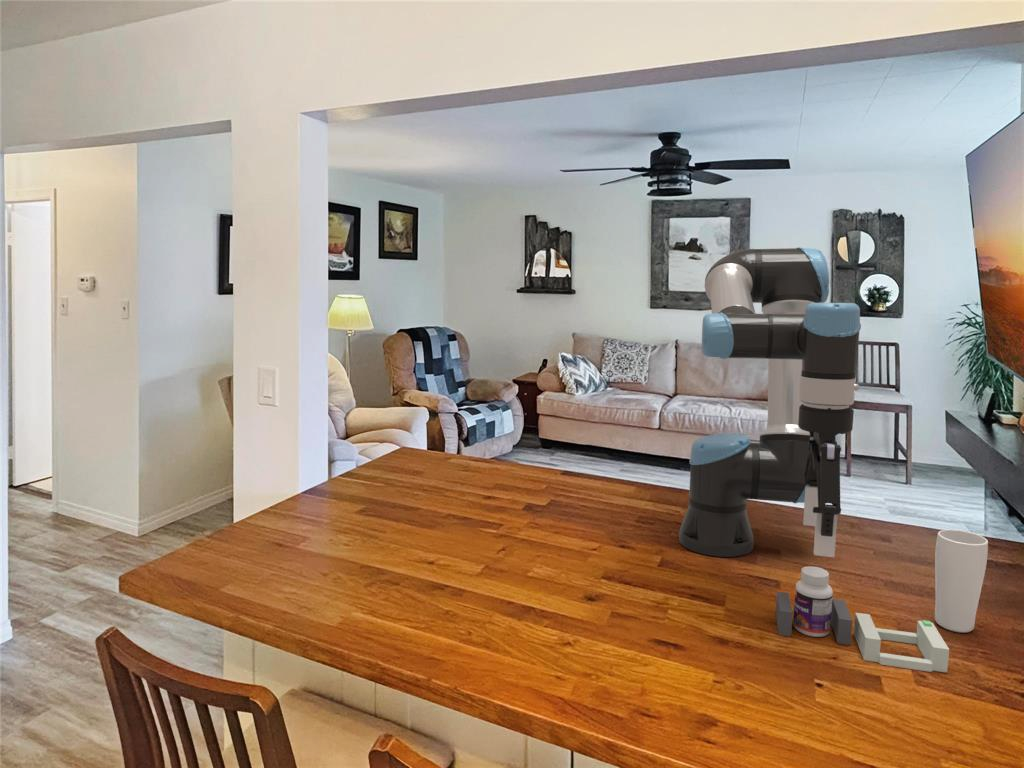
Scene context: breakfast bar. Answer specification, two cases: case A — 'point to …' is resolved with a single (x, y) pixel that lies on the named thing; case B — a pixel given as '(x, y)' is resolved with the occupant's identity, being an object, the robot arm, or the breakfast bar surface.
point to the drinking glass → (958, 578)
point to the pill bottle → (813, 602)
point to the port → (924, 638)
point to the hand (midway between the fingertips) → (817, 539)
